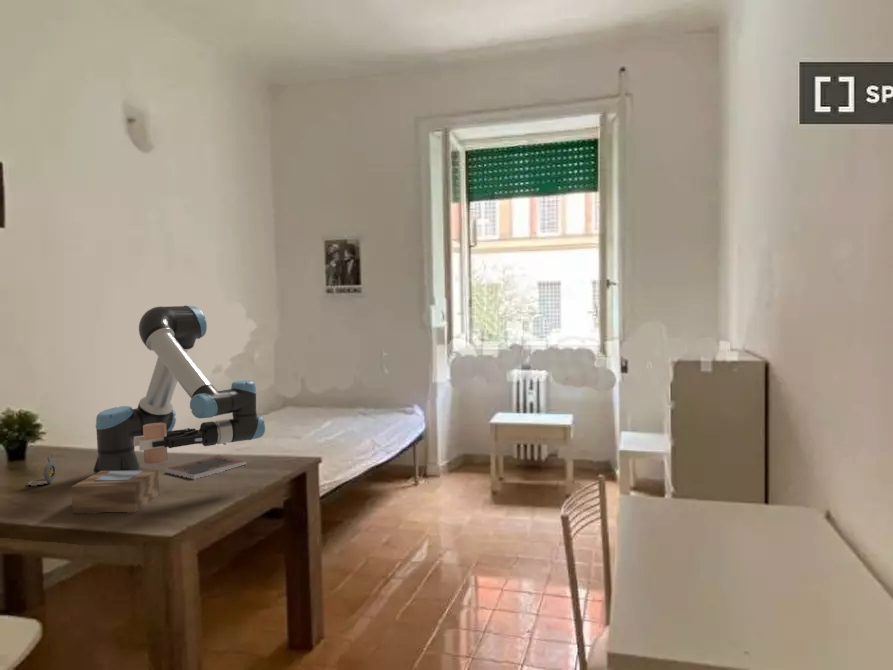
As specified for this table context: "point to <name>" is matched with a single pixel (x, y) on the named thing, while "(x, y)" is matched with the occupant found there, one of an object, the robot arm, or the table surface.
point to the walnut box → (115, 491)
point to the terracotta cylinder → (154, 433)
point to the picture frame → (205, 467)
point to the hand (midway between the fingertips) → (137, 443)
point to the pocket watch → (47, 473)
